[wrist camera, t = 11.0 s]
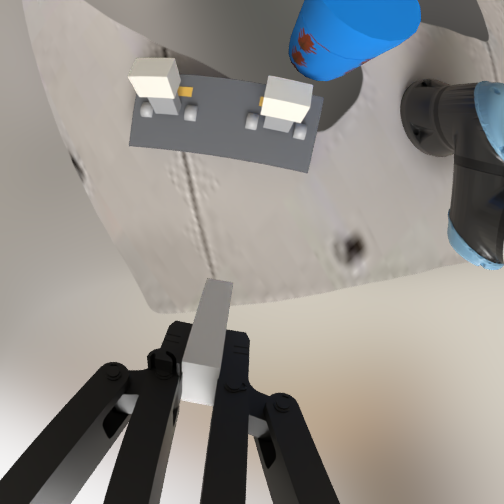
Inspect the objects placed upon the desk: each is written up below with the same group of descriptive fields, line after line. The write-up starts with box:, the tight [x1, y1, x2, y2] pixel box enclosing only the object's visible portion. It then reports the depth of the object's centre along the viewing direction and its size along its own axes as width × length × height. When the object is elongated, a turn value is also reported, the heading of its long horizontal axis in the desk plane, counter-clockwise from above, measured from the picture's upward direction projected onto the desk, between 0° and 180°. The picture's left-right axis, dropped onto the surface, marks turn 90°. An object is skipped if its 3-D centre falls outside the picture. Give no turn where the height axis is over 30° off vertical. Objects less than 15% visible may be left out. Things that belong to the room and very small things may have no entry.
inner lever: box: [261, 75, 313, 133], centre depth 32 cm, size 5×3×11 cm, turn 80°
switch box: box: [129, 74, 324, 173], centre depth 40 cm, size 28×12×7 cm, turn 80°
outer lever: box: [128, 58, 182, 115], centre depth 31 cm, size 5×3×11 cm, turn 80°
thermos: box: [289, 0, 421, 81], centre depth 26 cm, size 11×11×25 cm
